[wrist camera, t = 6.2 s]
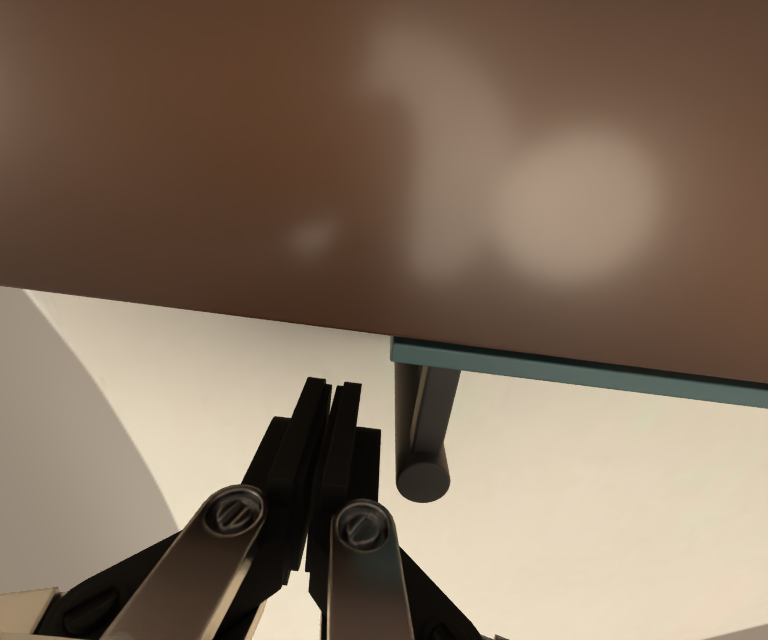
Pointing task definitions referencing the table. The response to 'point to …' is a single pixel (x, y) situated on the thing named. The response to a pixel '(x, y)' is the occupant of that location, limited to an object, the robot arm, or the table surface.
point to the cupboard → (402, 168)
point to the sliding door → (446, 360)
